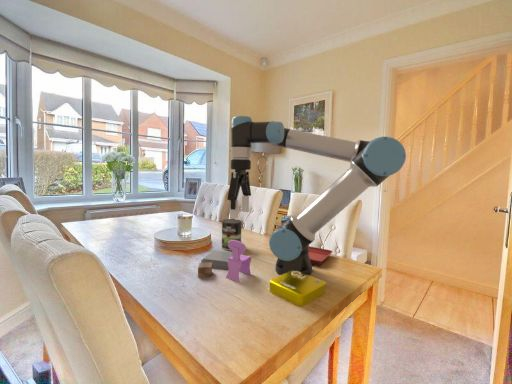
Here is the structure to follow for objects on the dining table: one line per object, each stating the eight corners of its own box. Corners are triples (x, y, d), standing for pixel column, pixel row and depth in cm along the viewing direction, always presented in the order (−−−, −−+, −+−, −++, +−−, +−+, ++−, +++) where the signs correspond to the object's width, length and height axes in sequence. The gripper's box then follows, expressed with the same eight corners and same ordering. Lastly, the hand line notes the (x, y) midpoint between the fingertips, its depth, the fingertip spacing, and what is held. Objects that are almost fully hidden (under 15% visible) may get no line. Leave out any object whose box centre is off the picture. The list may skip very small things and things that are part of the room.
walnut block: (212, 272, 109) (212, 262, 108) (211, 277, 104) (211, 267, 103) (199, 272, 108) (199, 262, 108) (197, 277, 103) (198, 267, 103)
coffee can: (237, 251, 134) (238, 223, 132) (218, 249, 136) (218, 222, 135) (243, 245, 144) (244, 219, 142) (225, 243, 146) (225, 218, 145)
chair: (253, 274, 107) (254, 237, 106) (241, 282, 100) (242, 243, 98) (236, 269, 111) (237, 234, 110) (223, 277, 104) (224, 239, 102)
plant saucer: (298, 249, 140) (298, 243, 140) (332, 256, 131) (333, 250, 131) (283, 260, 125) (283, 253, 124) (321, 268, 116) (321, 261, 115)
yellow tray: (266, 291, 94) (267, 278, 93) (293, 279, 104) (293, 267, 104) (301, 309, 83) (302, 294, 83) (327, 293, 94) (328, 280, 93)
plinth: (239, 258, 124) (239, 252, 123) (229, 269, 111) (229, 262, 111) (213, 255, 127) (213, 249, 127) (201, 265, 115) (201, 258, 114)
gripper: (241, 159, 114) (240, 208, 116) (218, 158, 90) (217, 220, 92) (258, 159, 112) (257, 210, 114) (239, 158, 88) (238, 222, 90)
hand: (239, 214), depth 103 cm, fingers open, 13 cm apart
